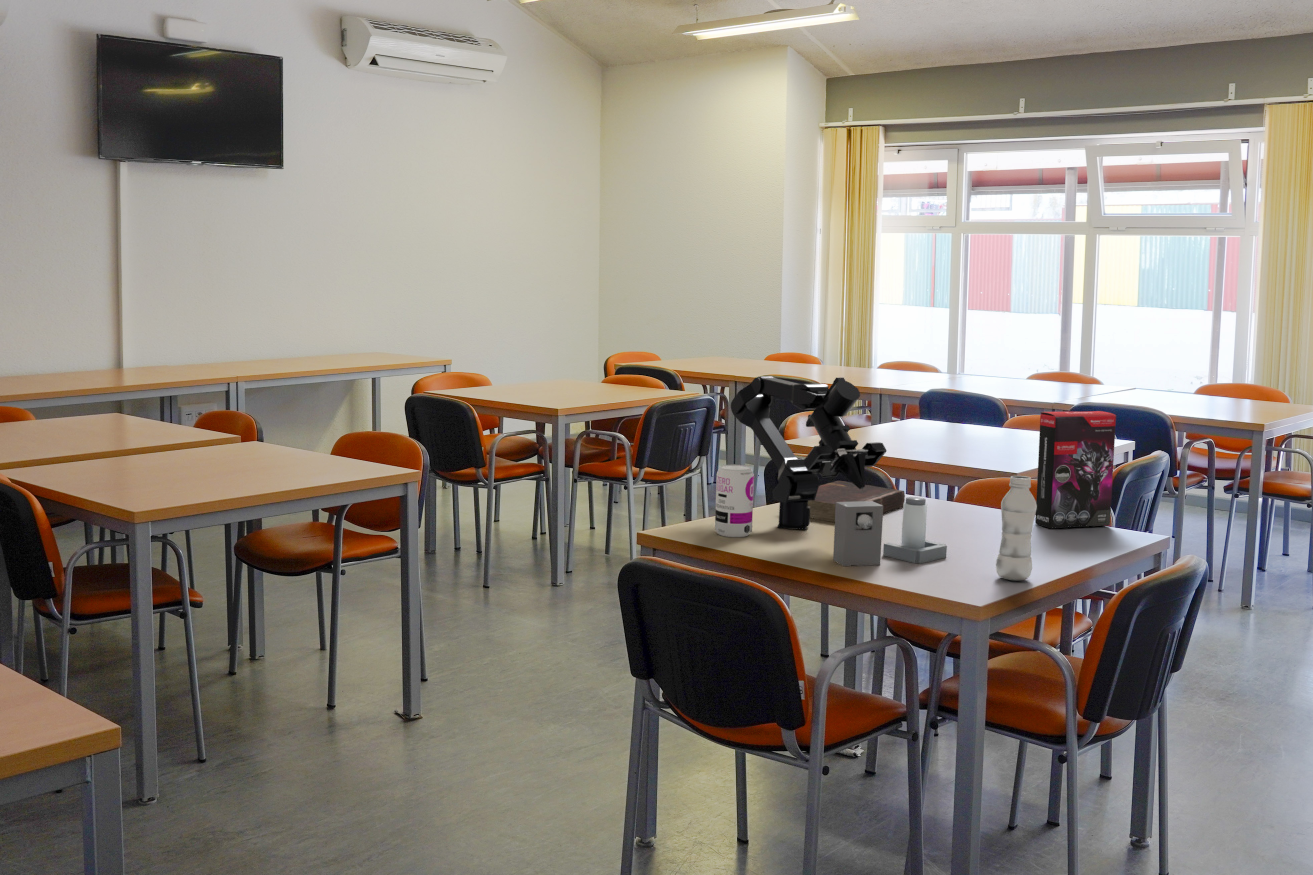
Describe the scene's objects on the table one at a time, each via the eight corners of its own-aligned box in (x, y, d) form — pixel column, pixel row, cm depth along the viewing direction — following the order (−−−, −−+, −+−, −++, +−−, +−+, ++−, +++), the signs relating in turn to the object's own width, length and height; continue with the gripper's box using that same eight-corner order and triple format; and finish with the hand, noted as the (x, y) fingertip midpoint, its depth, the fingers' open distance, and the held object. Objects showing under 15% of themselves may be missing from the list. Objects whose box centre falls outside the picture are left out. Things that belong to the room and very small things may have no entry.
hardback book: (853, 526, 266) (854, 505, 265) (782, 515, 277) (783, 495, 276) (904, 508, 289) (905, 489, 289) (837, 499, 300) (838, 480, 299)
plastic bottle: (989, 575, 222) (996, 474, 219) (1023, 575, 223) (1030, 474, 220) (1002, 583, 216) (1009, 479, 213) (1037, 584, 216) (1044, 480, 213)
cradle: (883, 555, 236) (883, 543, 236) (913, 548, 243) (914, 537, 242) (917, 563, 230) (918, 551, 229) (948, 556, 236) (948, 545, 236)
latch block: (833, 560, 231) (835, 502, 229) (869, 558, 233) (872, 501, 231) (843, 566, 226) (846, 506, 224) (880, 564, 228) (883, 505, 226)
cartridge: (900, 557, 235) (903, 500, 233) (900, 551, 240) (904, 495, 238) (924, 559, 234) (927, 501, 232) (924, 553, 239) (927, 497, 237)
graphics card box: (1048, 530, 266) (1057, 414, 262) (1031, 523, 272) (1039, 410, 269) (1110, 527, 271) (1119, 413, 267) (1091, 521, 277) (1100, 410, 274)
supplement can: (755, 531, 255) (758, 465, 253) (746, 539, 248) (748, 471, 246) (720, 528, 258) (722, 463, 256) (710, 535, 250) (712, 468, 248)
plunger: (839, 522, 233) (840, 505, 232) (855, 521, 234) (856, 504, 233) (857, 531, 225) (858, 513, 224) (874, 530, 226) (875, 513, 225)
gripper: (846, 450, 258) (877, 506, 250) (780, 455, 249) (809, 513, 241) (871, 419, 251) (903, 476, 243) (803, 423, 241) (834, 482, 233)
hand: (862, 487), depth 240 cm, fingers closed
